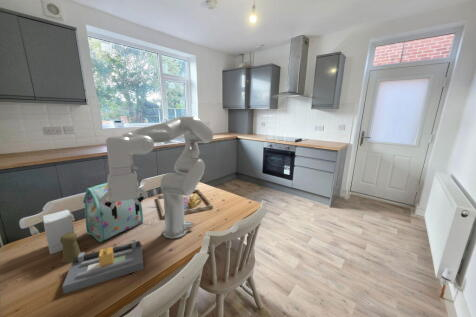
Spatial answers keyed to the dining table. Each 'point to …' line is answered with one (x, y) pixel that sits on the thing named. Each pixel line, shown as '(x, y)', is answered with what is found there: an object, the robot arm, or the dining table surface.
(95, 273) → the grey slider switch base
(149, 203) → the dining table surface
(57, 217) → the supplement box
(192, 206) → the spice collection
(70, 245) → the cork
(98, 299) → the dining table surface
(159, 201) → the tray
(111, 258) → the breaker toggle
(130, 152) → the robot arm
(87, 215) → the lunch bag
